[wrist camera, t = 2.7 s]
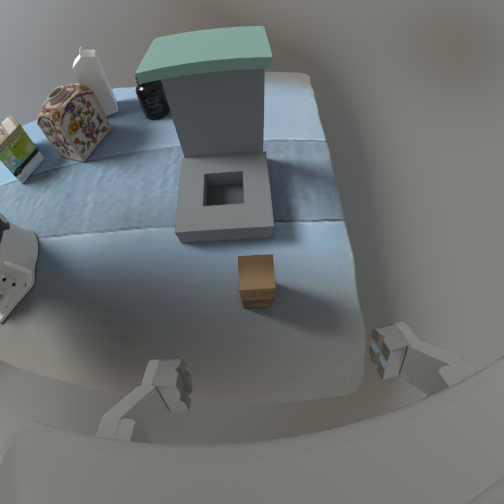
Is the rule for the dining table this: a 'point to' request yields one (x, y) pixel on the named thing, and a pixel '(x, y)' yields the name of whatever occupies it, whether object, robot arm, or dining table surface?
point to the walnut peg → (256, 280)
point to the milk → (95, 79)
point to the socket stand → (217, 129)
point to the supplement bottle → (152, 99)
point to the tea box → (18, 150)
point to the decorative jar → (73, 121)
